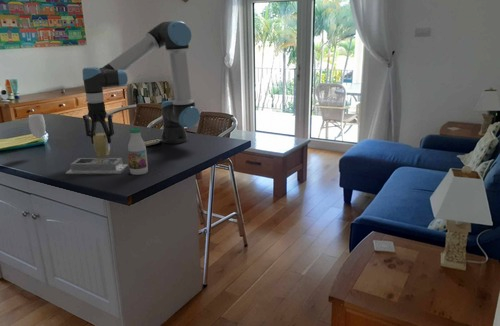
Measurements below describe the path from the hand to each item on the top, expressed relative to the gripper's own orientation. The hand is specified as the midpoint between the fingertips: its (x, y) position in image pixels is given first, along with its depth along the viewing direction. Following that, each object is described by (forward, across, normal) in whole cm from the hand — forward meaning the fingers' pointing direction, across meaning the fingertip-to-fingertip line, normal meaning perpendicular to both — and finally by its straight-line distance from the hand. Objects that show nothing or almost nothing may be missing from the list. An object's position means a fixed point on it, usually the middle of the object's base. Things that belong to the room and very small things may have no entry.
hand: (102, 149), depth 193 cm
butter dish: (+6, -2, +12) cm, 14 cm away
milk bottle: (+6, -22, +16) cm, 28 cm away
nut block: (+2, 0, 0) cm, 2 cm away
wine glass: (+6, +36, -10) cm, 37 cm away
